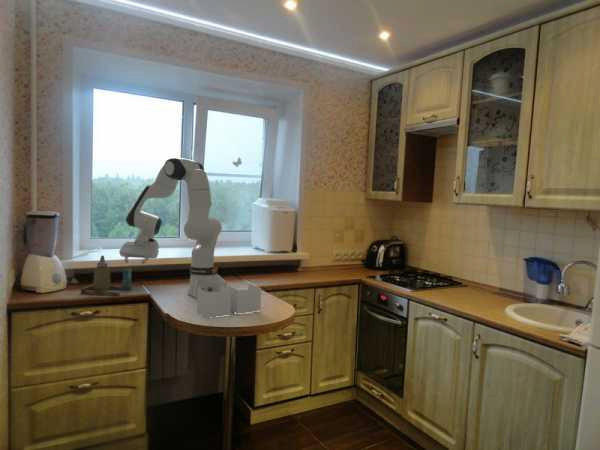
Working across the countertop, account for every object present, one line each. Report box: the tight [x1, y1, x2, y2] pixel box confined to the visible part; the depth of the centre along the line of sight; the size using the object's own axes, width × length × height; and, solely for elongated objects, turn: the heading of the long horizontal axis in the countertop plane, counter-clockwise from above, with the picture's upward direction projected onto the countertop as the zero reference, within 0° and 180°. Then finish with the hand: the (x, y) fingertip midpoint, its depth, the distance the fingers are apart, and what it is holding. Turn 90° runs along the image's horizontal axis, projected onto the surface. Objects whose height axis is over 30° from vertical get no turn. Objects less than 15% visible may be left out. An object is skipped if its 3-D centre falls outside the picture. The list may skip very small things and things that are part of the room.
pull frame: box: [80, 268, 133, 297], centre depth 200 cm, size 18×15×10 cm
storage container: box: [196, 283, 262, 319], centre depth 173 cm, size 25×11×11 cm, turn 122°
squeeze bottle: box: [92, 255, 112, 291], centre depth 199 cm, size 8×8×18 cm
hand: (134, 262), depth 213 cm, fingers open, 8 cm apart
